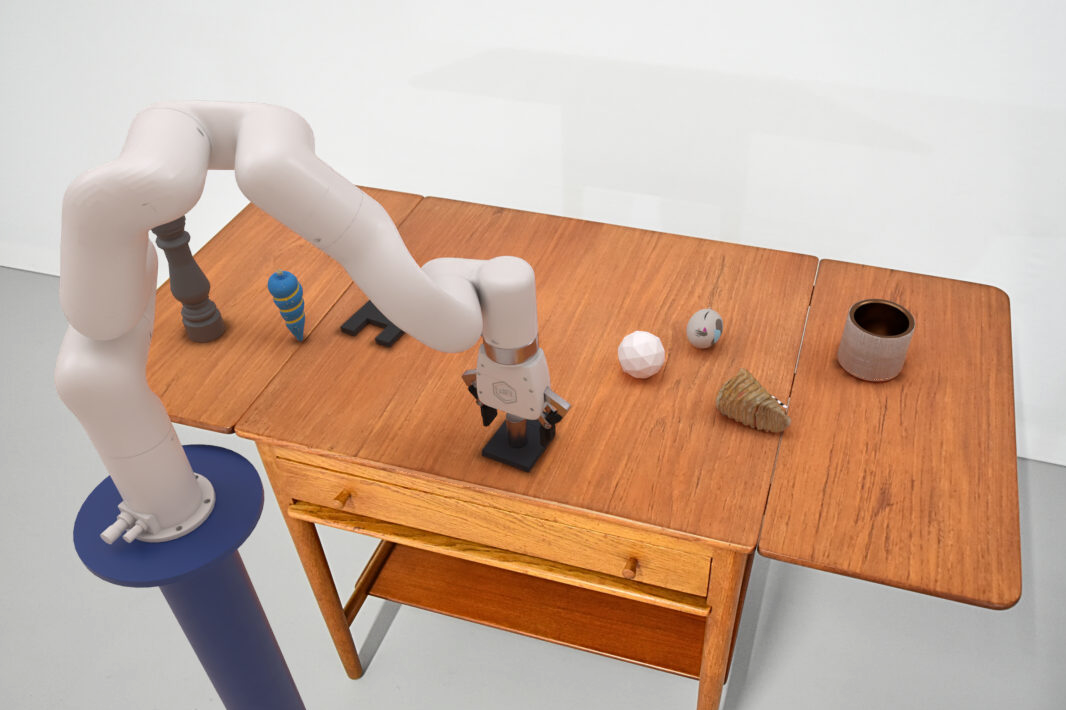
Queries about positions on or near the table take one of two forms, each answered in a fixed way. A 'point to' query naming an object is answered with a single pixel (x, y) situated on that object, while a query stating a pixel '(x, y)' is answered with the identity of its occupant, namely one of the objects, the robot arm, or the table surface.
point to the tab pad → (516, 454)
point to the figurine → (704, 328)
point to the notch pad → (374, 317)
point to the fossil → (751, 403)
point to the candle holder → (189, 283)
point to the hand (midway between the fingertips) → (518, 430)
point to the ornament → (288, 300)
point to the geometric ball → (641, 354)
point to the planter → (876, 339)
